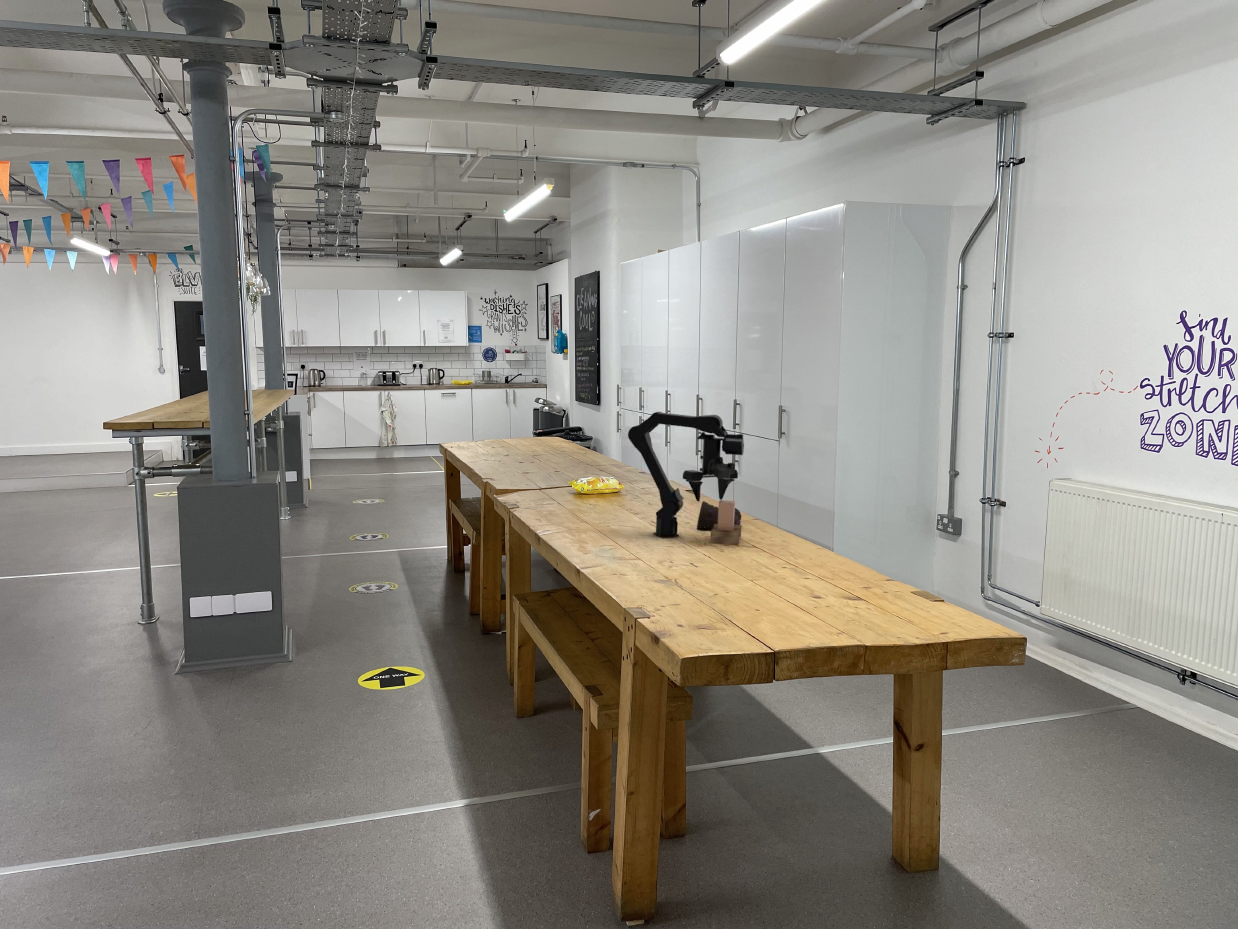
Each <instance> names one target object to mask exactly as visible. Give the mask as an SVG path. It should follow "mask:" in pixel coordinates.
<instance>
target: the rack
mask: <svg viewBox="0 0 1238 929" xmlns="http://www.w3.org/2000/svg"><path fill="white" fill-rule="evenodd" d="M741 537H742V525H740V526H737V525H734V531H729V530H718V524H714V528H713V529H711V531H710V539H709V543H710V544H717V543H719V544H720V545H723V544H724V545H731V546H732V545H733V546H739V544H740V541H741ZM739 540H740V541H739Z"/></svg>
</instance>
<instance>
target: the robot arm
mask: <svg viewBox="0 0 1238 929" xmlns="http://www.w3.org/2000/svg"><path fill="white" fill-rule="evenodd" d="M723 424H724V422H723V420H722V418H721V416H719V415H717V414H710V415H709V414H705V415H686V414H679V413H677V414H676V413H668V412H661V411H655V412H652V414H651V415H650V416H649V417H648V418H646V419H645V420H644V421H642V422H641V423H640V424H638V425H635V426H631V428H629V430H628V432H627V438H628V439H629V441H630V443H631V444H632V445H633V446H634V448H635V449H636V450H637V451H638V452H639V453H640V454H641V456H642V459H643V461H644V463H645V465H646V466H647V469H648V471H649V474H650V476H651V477H652V479H653V481H654V483H655V485H656V486H655V487H656V488H657V489H658V492H659V498H660V503H661V506H662V507H661V508H660V509H658V511H656V512H655V515H656V523H655V532H653V533H652V534H653V535H655V536H658V537H660V538H673V537H674V538H675V537H680V534H678V524H679V523H678V517H677V514H678V513H679V512H680V511H681V510H682V508H683V506H684V496H682V494H681V491H680V489H679V487H677V488H675V489H674V487H673V486H672V485H671V483H670V481H669V478H667V475H666V473H665V471H664V469H663V467H662V465H661V462H660V461H659V459H658V457H657V455H656V452H655V450H654V449H653V444H652V438H651V434H650V433H651V432H652V431H653V430H654V429H656V428H657V427H658V426H659V425H664V426H674V427H682V428H683V427H684V428H691V429H695V430H698V431H700V432H701V433H700V435H698V436H697V440H703V443H702V444H703V445H702V455H700V457H699V459H700V460H702V461H701V462H702V464H701V467H700V468H699V470H695V469H690V470H684V471H683V473H682V480H685V482H687V483H688V484H689V485H690V488H691V490H692V492H693V495H694V497H695V500H696V502H701V500H700V499H701V486H702V484H703V483H704V482H703V481H702V479H705V478H717V489H718V497H719V498H718V499H719V501H720V500H723V498H724V495H725V493H726V491H727V489H728V486H729V485H730V484H731V483H732V482H735V480H736V479H738V478H739V472H738V470H737V469H736V464H735V463H734V462H728V463H724V458H723V456H721V452H723V453H724V454H725V455H730V456H731V455H732V456H743V455H744V451H745V442H744V434H743V433H739V434H733V433H728V432H727V430H726V429H725V427H724V425H723ZM706 433H707V434H706ZM716 436H717V437H716Z"/></svg>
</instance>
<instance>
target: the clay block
mask: <svg viewBox="0 0 1238 929" xmlns="http://www.w3.org/2000/svg"><path fill="white" fill-rule="evenodd" d="M718 508H719V509H718V530H729V531H734V513H735V508H736V501H735V500H723V499H722V500H720V499H719V501H718Z"/></svg>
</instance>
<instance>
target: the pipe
mask: <svg viewBox="0 0 1238 929" xmlns="http://www.w3.org/2000/svg"><path fill="white" fill-rule="evenodd" d="M699 509H700V510H699V514H698V518H697V524H696V528H697V529H701V530H702V529H705V530H709V529H710V530H712V529H713V528H714V524H718V509H719V506H715V505H713V504H710V503H708V502H706V501H705V500H703V501H702V502H701V506H700V508H699ZM741 520H742V514H741V512H740V509H738V508H737V507H735V513H734V525H737V526H741Z"/></svg>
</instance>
